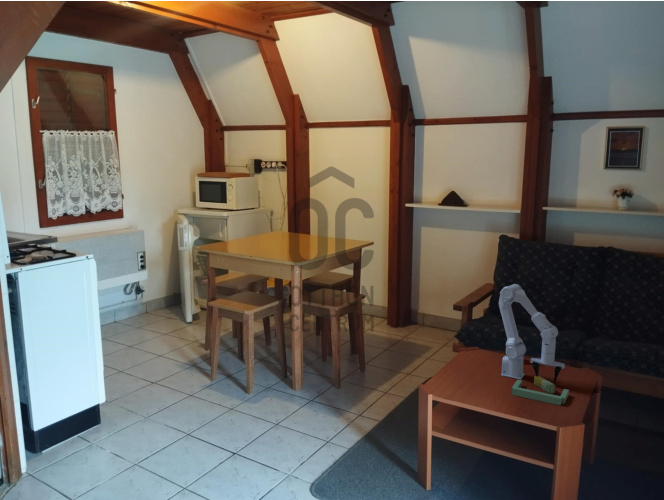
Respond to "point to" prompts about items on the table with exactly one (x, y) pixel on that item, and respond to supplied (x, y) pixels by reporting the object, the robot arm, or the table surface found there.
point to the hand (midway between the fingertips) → (546, 380)
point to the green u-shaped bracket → (539, 394)
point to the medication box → (544, 384)
